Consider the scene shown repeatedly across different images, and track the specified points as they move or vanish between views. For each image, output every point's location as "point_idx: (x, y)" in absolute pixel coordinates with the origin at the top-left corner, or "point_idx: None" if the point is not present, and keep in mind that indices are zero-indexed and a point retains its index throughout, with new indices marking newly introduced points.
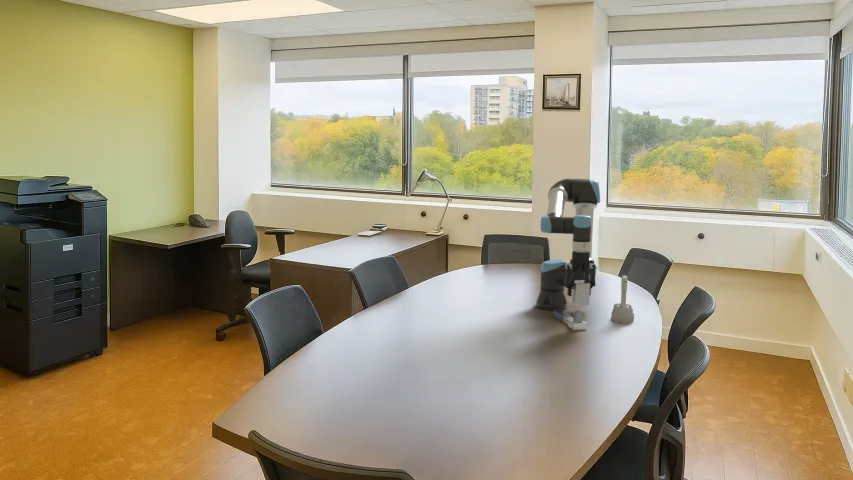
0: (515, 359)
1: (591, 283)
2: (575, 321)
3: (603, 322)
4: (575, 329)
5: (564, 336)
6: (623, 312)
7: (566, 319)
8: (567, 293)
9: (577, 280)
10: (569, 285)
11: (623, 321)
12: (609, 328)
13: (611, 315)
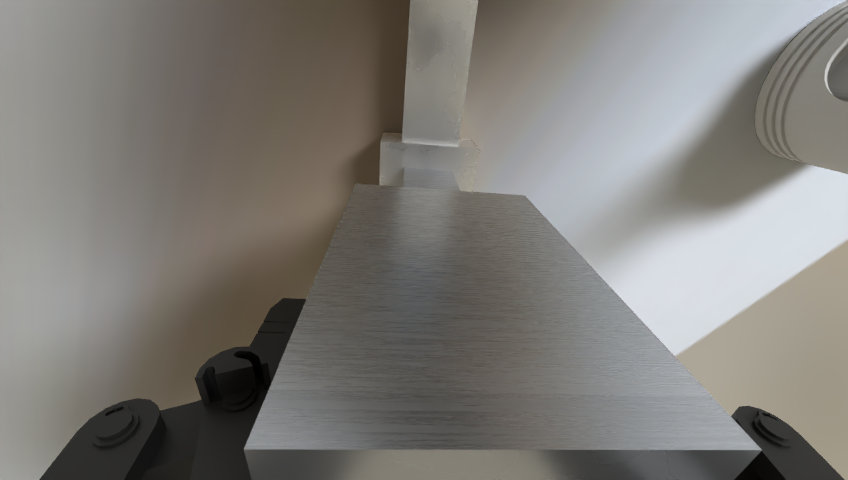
0: (14, 451)
1: (755, 476)
2: None
3: (661, 112)
4: None
5: (280, 290)
6: (839, 165)
7: (407, 53)
8: (266, 317)
9: (545, 464)
10: (243, 438)
11: (772, 151)
12: (588, 232)
13: (826, 31)
